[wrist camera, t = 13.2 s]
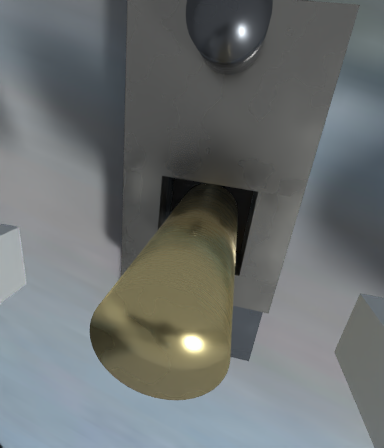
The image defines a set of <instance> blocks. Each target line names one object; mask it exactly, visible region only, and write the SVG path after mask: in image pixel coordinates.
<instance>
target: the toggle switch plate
mask: <svg viewBox="0 0 384 448" xmlns="http://www.w3.org/2000/svg"><path fill="white" fill-rule="evenodd" d="M359 6H360V5H356V4H342V3H329V2H316V1H303V0H127V40H126V84H125V127H124V171H123V215H122V259H121V276H122V275H123V274H124V272H125V271H126V270H127V269H128V267H129V266H130V265H131V264H132V262H133V261H134V260H135V258H136V257H137V256H138V255H139V253H140V252H141V251H142V250H143V248H144V247H145V246H146V244H147V243H148V242H149V241H150V239H151V238H152V237H153V236H154V234H155V233H156V232H157V230H158V229H159V228H160V227H161V225H162V224H163V223H164V222H165V220H166V219H167V218H168V216H169V215H170V211H171V201H172V191H173V180H174V178H179V179H185V180H191V181H197V182H203V183H209V184H216V185H222V186H228V187H234V188H240V189H246V190H252V191H253V196H252V201H251V205H250V210H249V214H248V219H247V223H246V228H245V233H244V237H243V242H242V246H241V251H240V253H236V259H235V278H234V297H233V316H232V335H231V354H230V357H234V358H238V359H242V360H247V361H249V358H250V355H251V351H252V348H253V344H254V341H255V337H256V334H257V330H258V327H259V323H260V320H261V316H262V313H263V312H264V313H269V310H270V306H271V303H272V299H273V296H274V293H275V289H276V286H277V283H278V279H279V276H280V272H281V269H282V266H283V262H284V259H285V256H286V252H287V249H288V245H289V242H290V239H291V235H292V232H293V229H294V225H295V222H296V218H297V215H298V212H299V208H300V205H301V202H302V198H303V195H304V191H305V188H306V185H307V181H308V178H309V174H310V171H311V168H312V164H313V161H314V158H315V154H316V151H317V147H318V144H319V141H320V137H321V134H322V131H323V127H324V124H325V120H326V117H327V114H328V110H329V107H330V104H331V100H332V97H333V93H334V90H335V87H336V83H337V80H338V77H339V73H340V70H341V66H342V63H343V60H344V56H345V53H346V50H347V46H348V43H349V39H350V36H351V33H352V29H353V26H354V22H355V19H356V16H357V12H358V9H359Z"/></svg>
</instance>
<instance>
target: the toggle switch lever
mask: <svg viewBox="0 0 384 448" xmlns="http://www.w3.org/2000/svg"><path fill="white" fill-rule="evenodd" d="M237 221H238V207H237V203H236V201H235V199H234V197H233V196H232V194H231V193H230V192H229V191H228V190H226V189H225V188H223V187H221V186H219V185H216V184H201V185H198V186H195V187H194V188H192V189H191V190H190V191H188V193H187V194H186V195H185V196H184V197H183V199H182V200H181V201H180V202H179V204H178V205H177V206H176V208H175V209H174V210H173V211H172V213H171V214H170V215H169V216H168V218H167V219H166V220H165V222H164V223H163V224H162V225H161V227H160V228H159V229H158V230H157V232H156V233H155V234H154V236H153V237H152V238H151V239H150V241H149V242H148V243H147V244H146V246H145V247H144V248H143V250H142V251H141V252H140V253H139V255H138V256H137V257H136V258H135V260H134V261H133V262H132V264H131V265H130V266H129V267H128V269H127V270H126V271H125V272H124V274H123V275H122V276H121V278H120V279H119V280H118V281H117V283H116V284H115V285H114V286H113V288H112V289H111V290H110V292H109V293H108V294H107V295H106V297H105V298H104V299H103V300H102V302H101V303H100V304H99V306H98V307H97V309H96V310H95V312H94V314H93V316H92V319H91V323H90V339H91V343H92V346H93V349H94V351H95V353H96V355H97V357H98V359H99V360H100V362H101V363H102V364H103V366H104V367H105V368H106V369H107V370H108V371H109V372H110V373H111V374H112V375H113V376H114V377H115V378H116V379H118V380H119V381H120V382H121V383H123V384H125V385H126V386H128V387H130V388H131V389H133V390H135V391H137V392H140V393H142V394H145V395H148V396H151V397H155V398H160V399H166V400H186V399H192V398H196V397H199V396H202V395H204V394H206V393H208V392H210V391H211V390H213V389H214V388H215V387H217V386H218V385H219V384H220V383H221V381H222V380H223V379H224V377H225V375H226V374H227V371H228V368H229V364H230V354H231V335H232V316H233V297H234V278H235V259H236V240H237Z"/></svg>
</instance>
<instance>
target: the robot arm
mask: <svg viewBox="0 0 384 448" xmlns="http://www.w3.org/2000/svg"><path fill="white" fill-rule="evenodd" d="M26 284H27V282H26V275H25V267H24V260H23V252H22V245H21V237H20V230H19V227H17V226H11V225H6V224H0V304H1V303H2V302H3V301H5V300H6V299H7V298H9V297H10V296H11V295H13V294H14V293H15V292H17V291H18V290H19V289H21V288H22V287H23V286H25V285H26ZM335 354H336V357H337V359H338V361H339V364H340V366H341V369H342V371H343V373H344V376H345V378H346V381H347V383H348V385H349V388H350V390H351V392H352V395H353V397H354V400H355V402H356V404H357V407H358V409H359V412H360V414H361V416H362V419H363V421H364V423H365V426H366V428H367V431H368V433H369V435H370V438H371V440H372V442H373V445H374V447H375V448H384V298H381V297H376V296H370V295H365V294H360V295H359V297H358V300H357V302H356V304H355V307H354V309H353V311H352V313H351V316H350V318H349V320H348V322H347V325H346V327H345V329H344V331H343V334H342V336H341V338H340V340H339V343H338V345H337V347H336V350H335ZM0 448H1V447H0Z"/></svg>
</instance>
